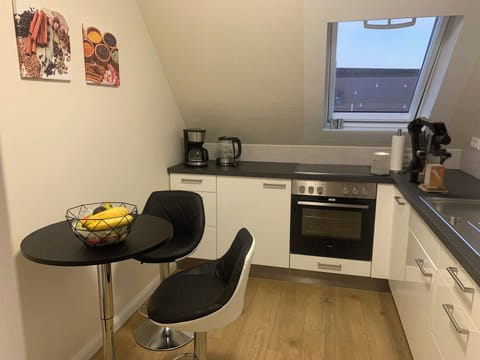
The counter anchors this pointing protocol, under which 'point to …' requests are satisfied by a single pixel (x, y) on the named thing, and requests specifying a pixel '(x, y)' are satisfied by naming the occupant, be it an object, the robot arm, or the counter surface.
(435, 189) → the wooden tray
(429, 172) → the small box
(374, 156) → the supplement box
